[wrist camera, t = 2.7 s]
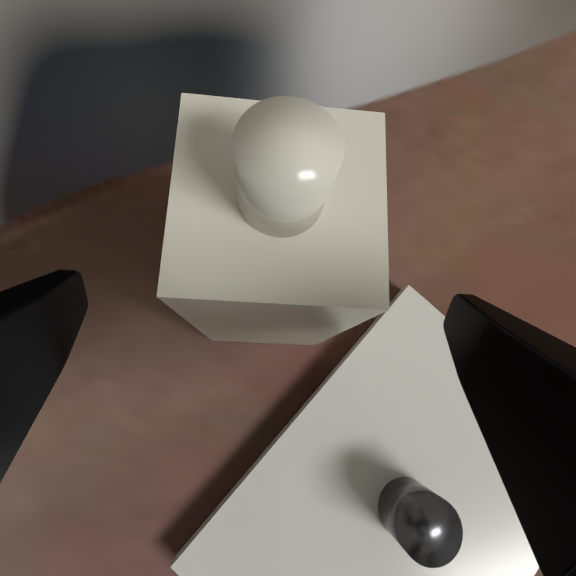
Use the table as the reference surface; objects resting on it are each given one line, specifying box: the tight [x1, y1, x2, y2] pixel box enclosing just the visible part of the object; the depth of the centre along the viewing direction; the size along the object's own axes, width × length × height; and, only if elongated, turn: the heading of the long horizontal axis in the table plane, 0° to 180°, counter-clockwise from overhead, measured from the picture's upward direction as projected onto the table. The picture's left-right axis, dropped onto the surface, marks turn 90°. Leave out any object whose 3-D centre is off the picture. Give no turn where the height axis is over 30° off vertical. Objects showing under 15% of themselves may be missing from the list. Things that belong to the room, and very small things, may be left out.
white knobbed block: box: [157, 93, 390, 345], centre depth 13 cm, size 5×5×12 cm
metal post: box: [378, 477, 463, 568], centre depth 15 cm, size 2×2×2 cm
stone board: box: [171, 285, 539, 576], centre depth 17 cm, size 16×12×1 cm
